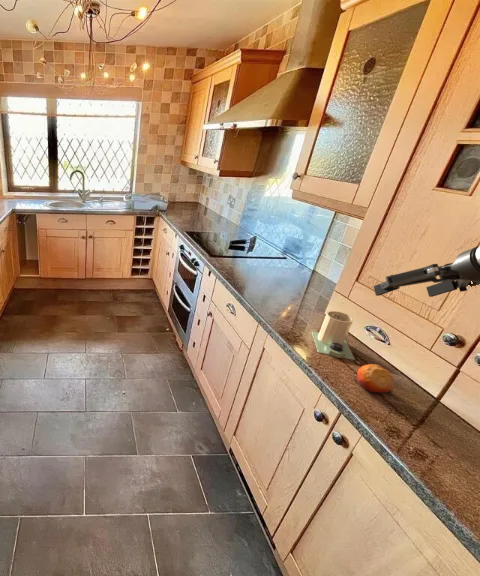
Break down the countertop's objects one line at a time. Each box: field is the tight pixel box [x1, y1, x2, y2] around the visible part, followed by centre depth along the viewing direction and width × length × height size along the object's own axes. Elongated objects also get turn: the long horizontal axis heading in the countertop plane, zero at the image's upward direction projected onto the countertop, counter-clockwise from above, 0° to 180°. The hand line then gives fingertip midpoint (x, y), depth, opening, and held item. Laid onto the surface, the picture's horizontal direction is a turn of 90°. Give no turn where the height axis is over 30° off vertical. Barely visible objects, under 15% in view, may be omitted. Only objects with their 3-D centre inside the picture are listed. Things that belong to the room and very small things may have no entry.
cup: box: [318, 310, 354, 345], centre depth 105 cm, size 7×7×10 cm
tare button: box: [331, 343, 343, 352], centre depth 101 cm, size 3×3×2 cm
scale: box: [311, 331, 356, 361], centre depth 105 cm, size 10×14×3 cm
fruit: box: [354, 363, 395, 394], centre depth 89 cm, size 8×8×8 cm
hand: (402, 291), depth 84 cm, fingers open, 13 cm apart
